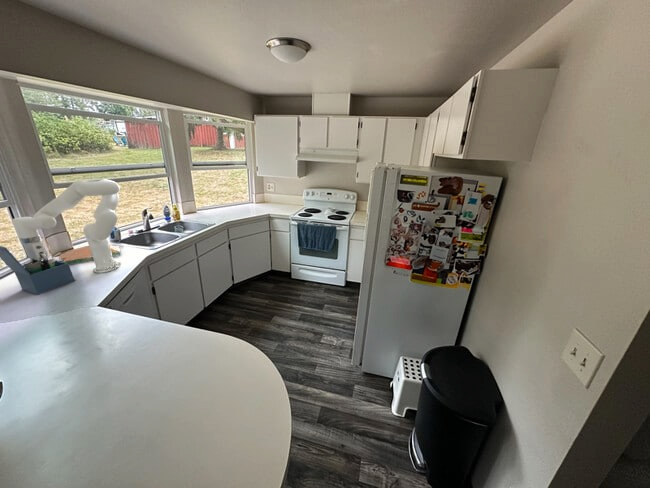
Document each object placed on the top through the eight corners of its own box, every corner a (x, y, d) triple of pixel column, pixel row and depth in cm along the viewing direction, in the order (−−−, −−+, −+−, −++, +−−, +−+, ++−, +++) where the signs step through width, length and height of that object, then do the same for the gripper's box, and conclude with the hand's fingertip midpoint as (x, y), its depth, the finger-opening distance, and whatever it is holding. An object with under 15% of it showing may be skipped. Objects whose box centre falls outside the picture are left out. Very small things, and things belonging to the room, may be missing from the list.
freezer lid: (-11, 243, 127) (-25, 248, 123) (5, 247, 123) (-9, 253, 119) (14, 269, 137) (1, 275, 133) (30, 274, 132) (17, 280, 128)
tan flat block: (63, 256, 184) (59, 245, 181) (119, 246, 204) (117, 237, 201) (59, 266, 168) (55, 255, 165) (121, 255, 188) (118, 245, 185)
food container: (29, 283, 137) (22, 266, 134) (29, 279, 141) (22, 263, 138) (61, 275, 146) (55, 260, 143) (60, 272, 150) (54, 257, 146)
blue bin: (59, 276, 155) (52, 259, 151) (74, 280, 151) (68, 263, 147) (22, 289, 141) (13, 270, 137) (38, 294, 136) (29, 275, 132)
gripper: (49, 239, 137) (60, 268, 143) (30, 235, 142) (42, 263, 148) (30, 243, 130) (43, 274, 136) (11, 239, 135) (24, 269, 141)
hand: (42, 268), depth 142 cm, fingers closed on food container, 7 cm apart
